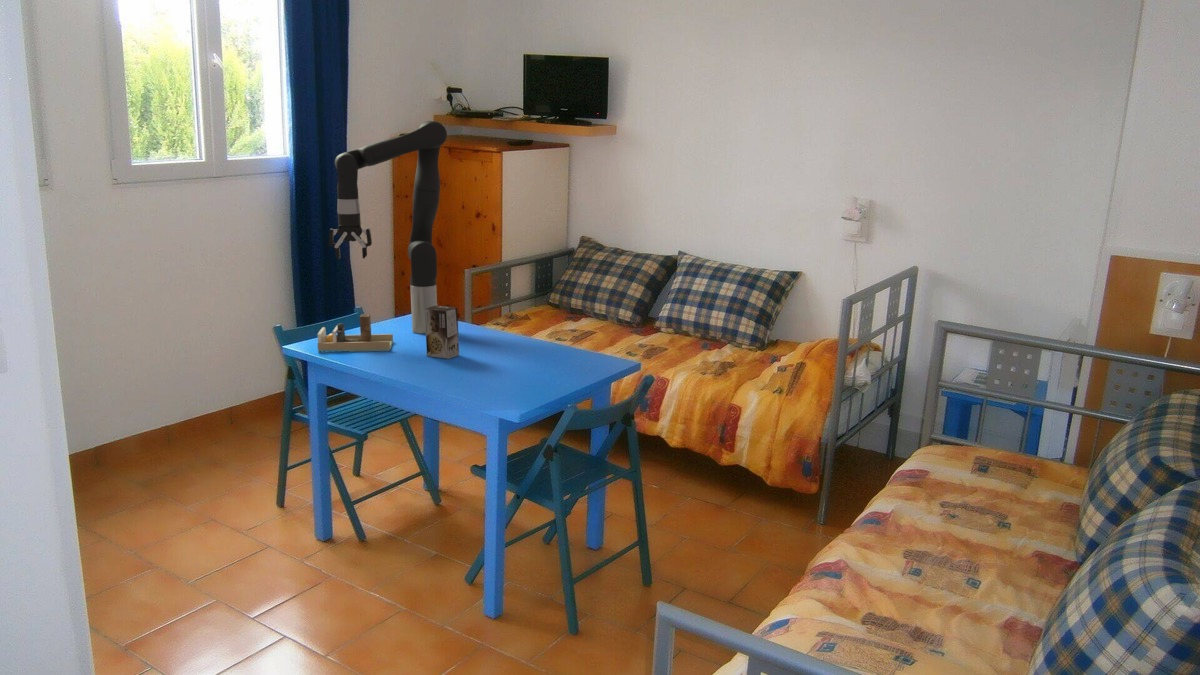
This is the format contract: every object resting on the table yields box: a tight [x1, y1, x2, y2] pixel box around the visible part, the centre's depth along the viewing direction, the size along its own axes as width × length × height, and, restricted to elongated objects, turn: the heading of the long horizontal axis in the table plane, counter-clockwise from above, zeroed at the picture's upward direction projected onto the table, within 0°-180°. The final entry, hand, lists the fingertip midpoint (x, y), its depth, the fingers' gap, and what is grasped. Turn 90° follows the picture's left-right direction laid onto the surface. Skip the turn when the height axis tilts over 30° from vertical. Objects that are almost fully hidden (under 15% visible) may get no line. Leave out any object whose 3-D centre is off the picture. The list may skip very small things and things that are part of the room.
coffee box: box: [425, 304, 460, 360], centre depth 307 cm, size 9×6×16 cm
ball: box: [326, 332, 338, 343], centre depth 318 cm, size 4×4×4 cm
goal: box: [316, 325, 339, 344], centre depth 317 cm, size 6×10×6 cm, turn 7°
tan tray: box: [317, 333, 394, 352], centre depth 319 cm, size 24×12×3 cm, turn 97°
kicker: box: [336, 313, 372, 342], centre depth 318 cm, size 11×6×10 cm, turn 97°
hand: (351, 258), depth 328 cm, fingers open, 8 cm apart
